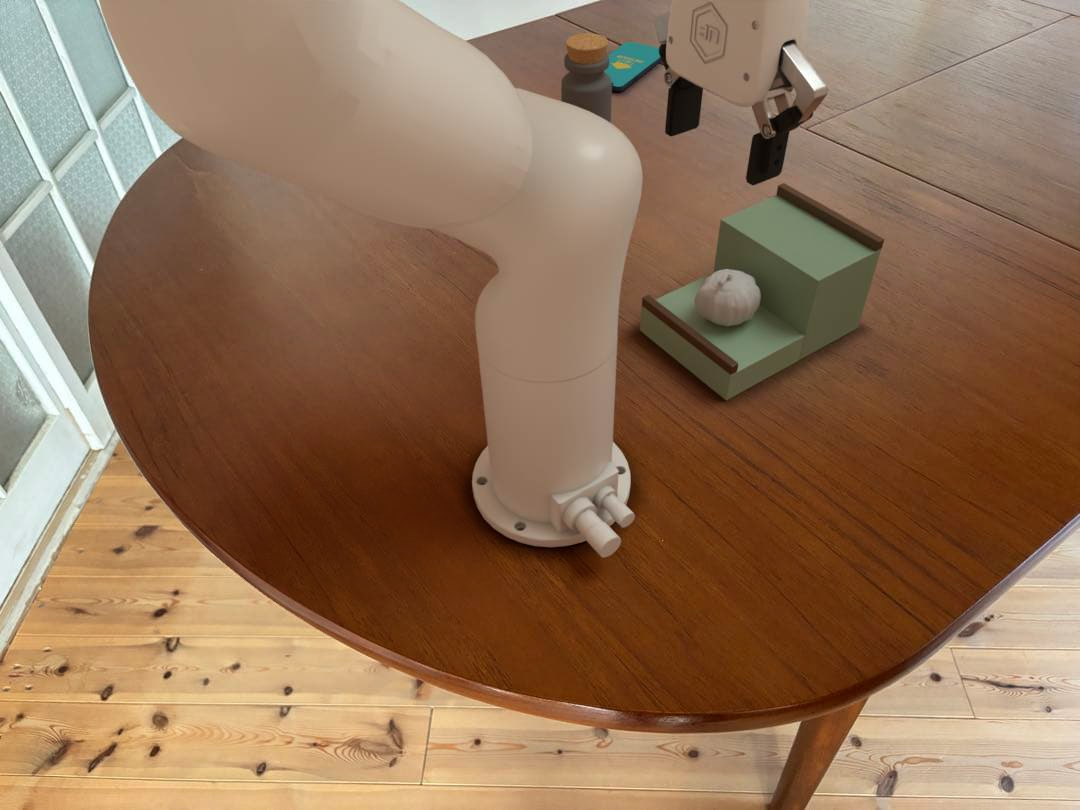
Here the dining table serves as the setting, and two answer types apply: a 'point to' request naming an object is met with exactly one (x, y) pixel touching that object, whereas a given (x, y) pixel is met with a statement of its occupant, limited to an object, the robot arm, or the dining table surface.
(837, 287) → the shelf
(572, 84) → the bottle
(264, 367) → the dining table surface
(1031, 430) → the dining table surface
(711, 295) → the garlic
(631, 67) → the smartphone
